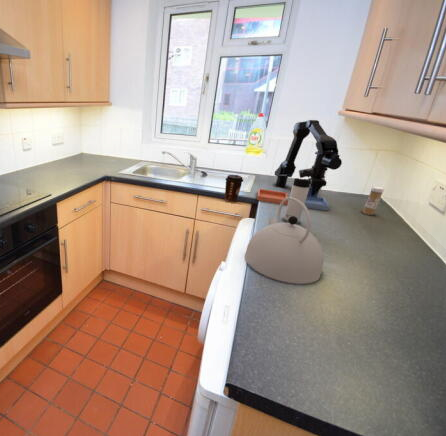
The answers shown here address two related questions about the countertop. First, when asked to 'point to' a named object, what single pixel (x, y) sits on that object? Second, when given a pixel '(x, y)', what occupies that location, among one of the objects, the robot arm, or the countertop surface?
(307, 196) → the slate-blue block
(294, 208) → the travel mug
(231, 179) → the coffee cup
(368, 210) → the sprinkles bottle
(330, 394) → the countertop surface
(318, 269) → the kettle
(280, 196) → the terracotta tray
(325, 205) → the blue tray
